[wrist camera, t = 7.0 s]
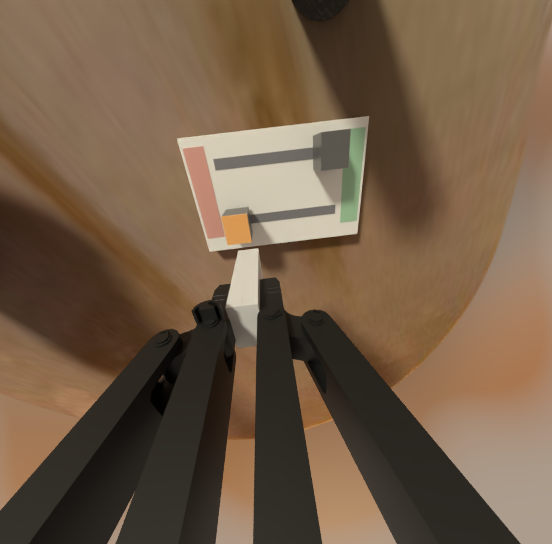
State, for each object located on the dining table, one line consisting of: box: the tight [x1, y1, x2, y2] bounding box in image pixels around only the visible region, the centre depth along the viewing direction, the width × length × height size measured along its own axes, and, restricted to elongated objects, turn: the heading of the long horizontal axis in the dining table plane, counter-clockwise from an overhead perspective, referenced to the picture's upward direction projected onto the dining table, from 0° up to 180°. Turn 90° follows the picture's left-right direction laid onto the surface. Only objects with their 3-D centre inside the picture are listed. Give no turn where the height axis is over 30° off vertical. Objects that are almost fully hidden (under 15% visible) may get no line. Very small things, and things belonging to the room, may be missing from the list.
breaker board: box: [177, 116, 369, 252], centre depth 26 cm, size 22×14×6 cm, turn 96°
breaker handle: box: [221, 207, 253, 245], centre depth 26 cm, size 3×4×4 cm
